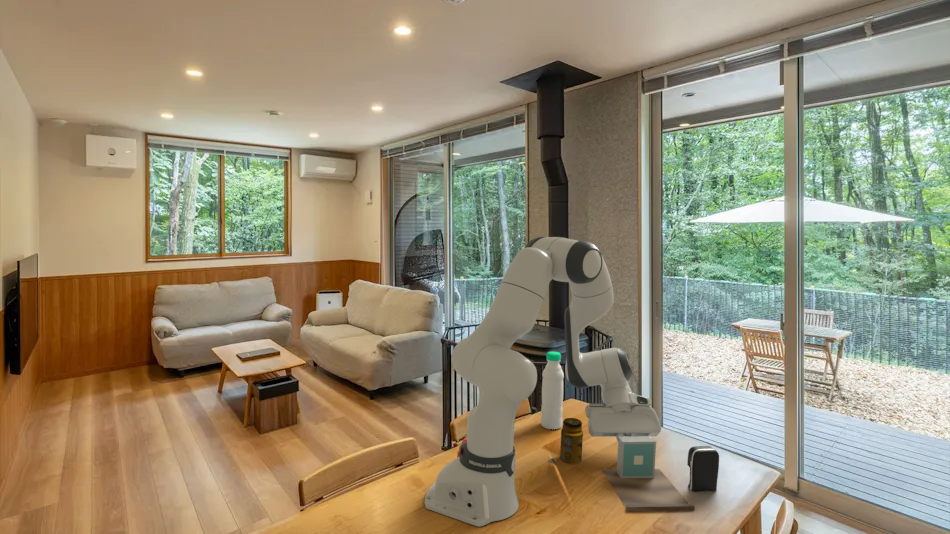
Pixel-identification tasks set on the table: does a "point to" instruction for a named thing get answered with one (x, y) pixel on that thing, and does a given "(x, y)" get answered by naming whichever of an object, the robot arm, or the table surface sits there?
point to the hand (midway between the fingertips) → (629, 451)
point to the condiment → (571, 441)
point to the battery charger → (703, 468)
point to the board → (648, 493)
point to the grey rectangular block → (636, 457)
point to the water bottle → (552, 392)
